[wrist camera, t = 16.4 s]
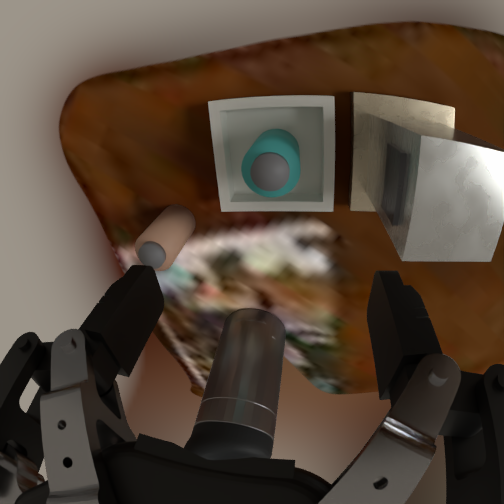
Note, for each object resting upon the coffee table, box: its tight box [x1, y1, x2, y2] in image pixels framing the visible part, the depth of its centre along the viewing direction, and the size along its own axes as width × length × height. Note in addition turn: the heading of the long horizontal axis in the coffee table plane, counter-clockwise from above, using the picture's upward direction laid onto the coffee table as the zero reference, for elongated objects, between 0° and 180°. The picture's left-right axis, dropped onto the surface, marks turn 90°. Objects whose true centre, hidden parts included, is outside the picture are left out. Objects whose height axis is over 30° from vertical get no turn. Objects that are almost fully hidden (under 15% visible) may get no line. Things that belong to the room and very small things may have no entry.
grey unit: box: [348, 92, 504, 262], centre depth 19 cm, size 12×11×14 cm
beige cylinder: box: [135, 205, 195, 271], centre depth 30 cm, size 4×4×8 cm
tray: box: [208, 95, 335, 212], centre depth 26 cm, size 11×11×3 cm
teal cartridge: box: [241, 129, 301, 197], centre depth 23 cm, size 4×4×8 cm
